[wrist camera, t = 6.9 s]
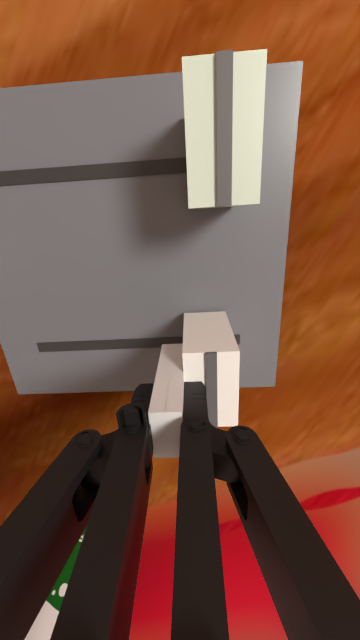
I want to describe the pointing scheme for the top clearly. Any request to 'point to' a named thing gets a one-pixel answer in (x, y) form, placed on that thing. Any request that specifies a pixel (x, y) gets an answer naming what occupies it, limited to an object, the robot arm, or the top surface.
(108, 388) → the console
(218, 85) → the fader
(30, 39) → the top surface
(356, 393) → the top surface
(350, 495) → the top surface
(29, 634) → the milk carton
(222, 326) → the block
